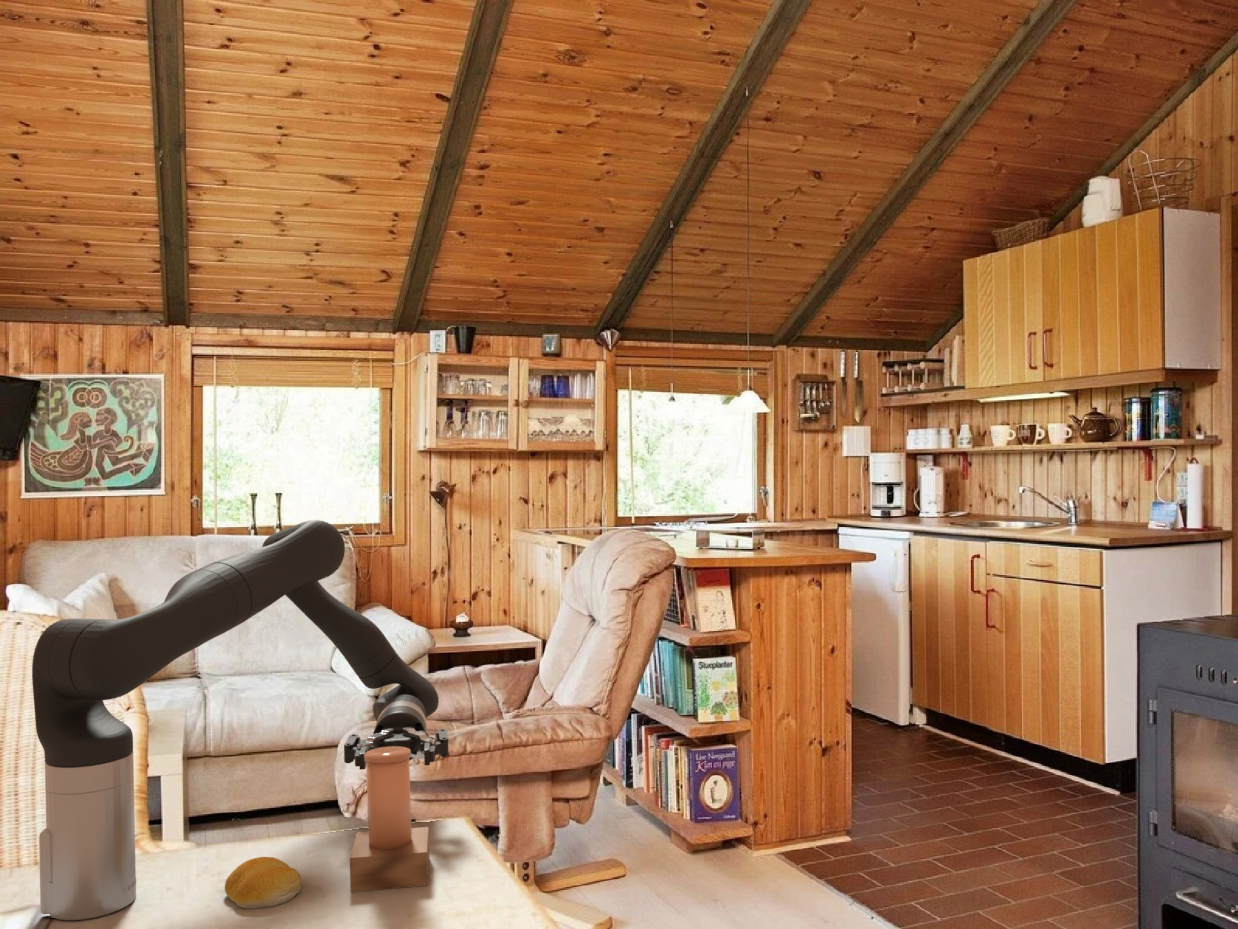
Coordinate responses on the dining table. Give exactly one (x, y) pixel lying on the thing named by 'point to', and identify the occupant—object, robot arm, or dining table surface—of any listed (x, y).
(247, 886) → the bread roll
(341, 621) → the robot arm
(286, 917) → the dining table surface
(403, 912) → the dining table surface
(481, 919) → the dining table surface
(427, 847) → the plinth
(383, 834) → the jar
